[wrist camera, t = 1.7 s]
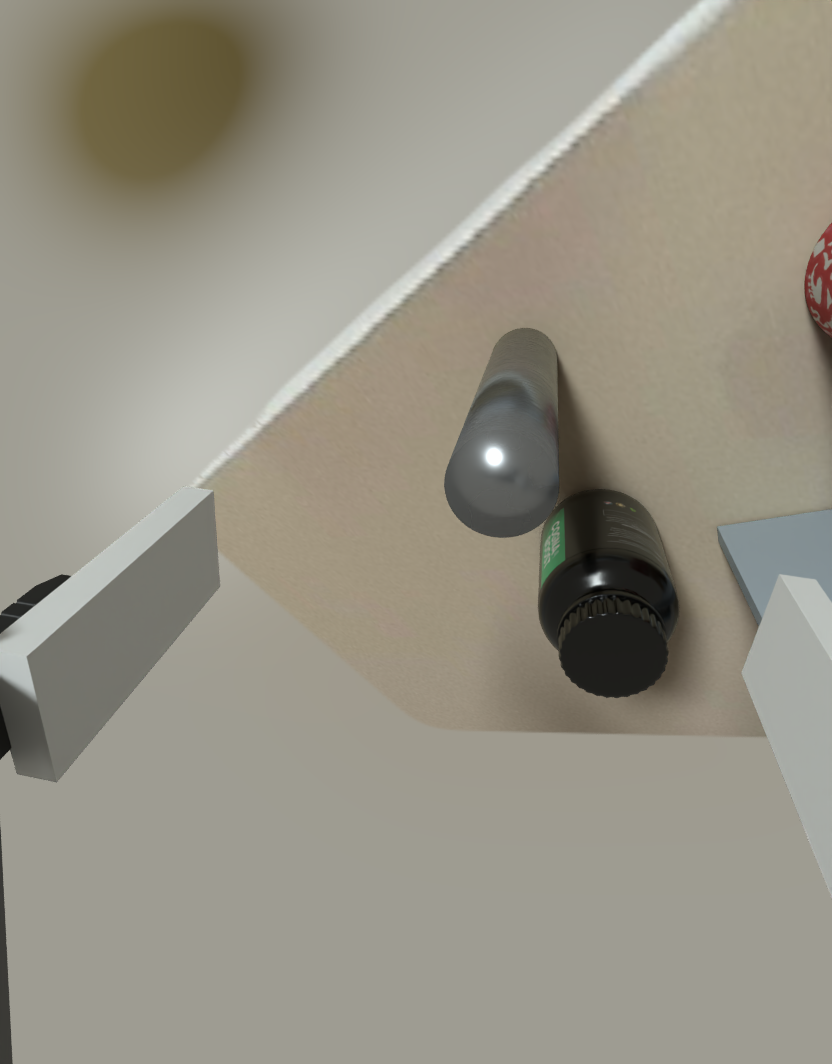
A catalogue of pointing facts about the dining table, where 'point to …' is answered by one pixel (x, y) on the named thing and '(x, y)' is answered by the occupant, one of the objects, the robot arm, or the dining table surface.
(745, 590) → the hinge leaf swing
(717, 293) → the dining table surface
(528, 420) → the hinge pin
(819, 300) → the mug
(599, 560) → the supplement bottle
